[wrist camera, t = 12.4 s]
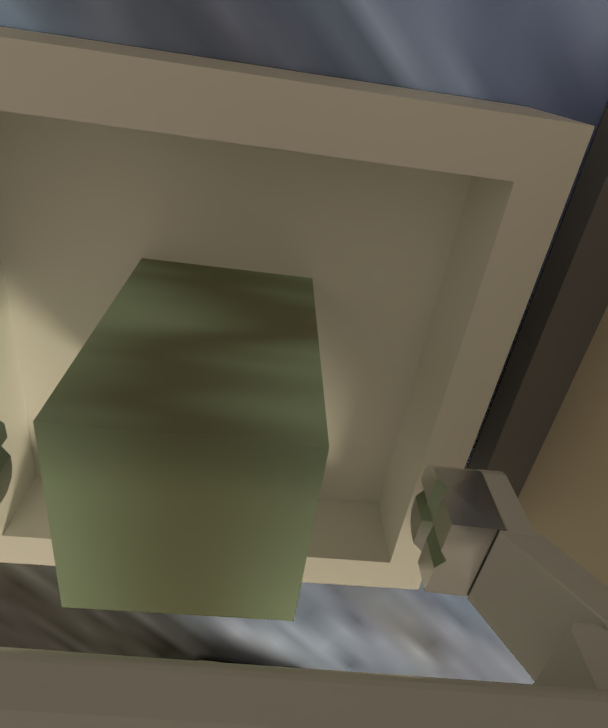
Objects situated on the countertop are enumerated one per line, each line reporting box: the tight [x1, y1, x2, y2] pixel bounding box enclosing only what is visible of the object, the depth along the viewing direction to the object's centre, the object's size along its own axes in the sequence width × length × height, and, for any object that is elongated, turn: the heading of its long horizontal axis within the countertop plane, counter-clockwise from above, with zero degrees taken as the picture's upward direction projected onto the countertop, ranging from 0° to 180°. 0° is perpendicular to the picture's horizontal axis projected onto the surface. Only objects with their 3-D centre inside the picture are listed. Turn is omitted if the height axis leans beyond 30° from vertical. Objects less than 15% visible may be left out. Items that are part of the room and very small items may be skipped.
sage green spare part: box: [33, 258, 329, 621], centre depth 12 cm, size 4×4×7 cm
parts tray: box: [0, 26, 595, 590], centre depth 15 cm, size 14×14×4 cm
